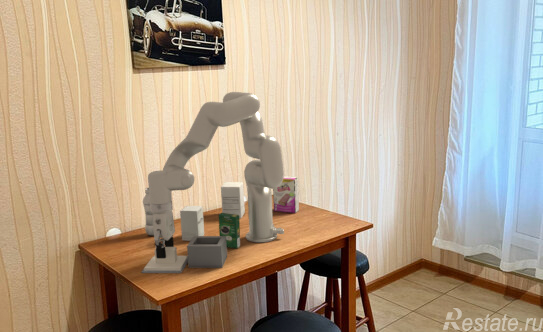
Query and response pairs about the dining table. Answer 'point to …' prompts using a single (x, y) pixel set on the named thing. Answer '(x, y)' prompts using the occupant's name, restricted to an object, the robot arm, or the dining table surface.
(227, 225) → the coffee box
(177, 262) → the lid
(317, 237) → the dining table surface
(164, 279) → the dining table surface
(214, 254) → the storage box
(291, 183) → the candy bar box
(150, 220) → the plastic bottle
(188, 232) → the supplement box
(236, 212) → the supplement box
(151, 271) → the mat
